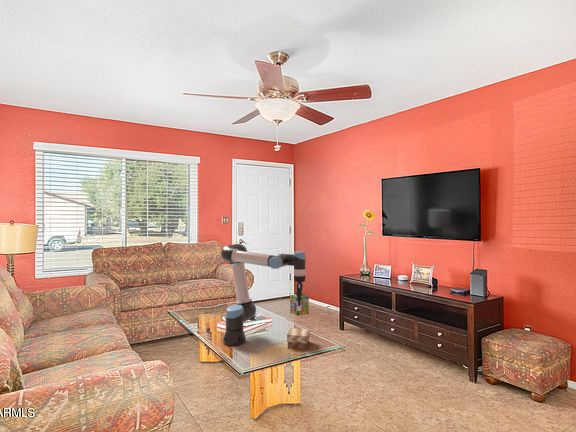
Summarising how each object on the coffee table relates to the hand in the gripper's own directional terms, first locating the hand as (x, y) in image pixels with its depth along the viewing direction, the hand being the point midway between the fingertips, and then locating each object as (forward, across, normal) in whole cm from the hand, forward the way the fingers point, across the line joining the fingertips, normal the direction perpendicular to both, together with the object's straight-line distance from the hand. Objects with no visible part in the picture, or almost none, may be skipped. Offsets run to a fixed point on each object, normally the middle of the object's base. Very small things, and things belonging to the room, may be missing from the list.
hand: (299, 308), depth 232 cm
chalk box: (+4, 0, 0) cm, 4 cm away
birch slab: (+20, 0, 0) cm, 20 cm away
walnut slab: (+25, 0, 0) cm, 25 cm away
